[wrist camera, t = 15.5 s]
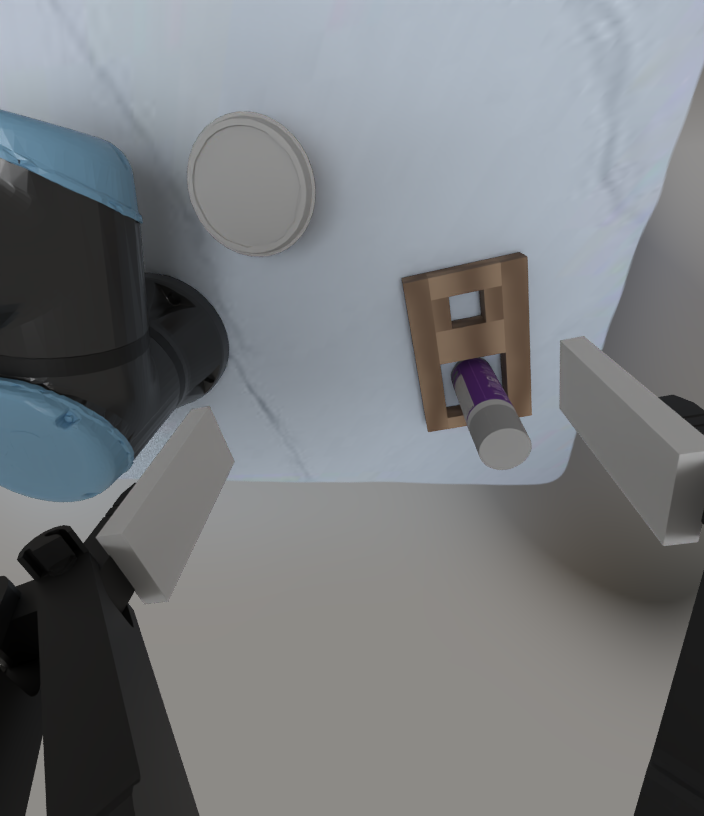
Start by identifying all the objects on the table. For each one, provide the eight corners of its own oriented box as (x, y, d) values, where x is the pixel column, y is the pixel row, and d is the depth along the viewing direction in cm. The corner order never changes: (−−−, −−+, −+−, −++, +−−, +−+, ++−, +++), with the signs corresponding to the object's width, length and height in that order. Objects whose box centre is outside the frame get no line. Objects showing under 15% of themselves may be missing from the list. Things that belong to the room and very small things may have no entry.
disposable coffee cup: (222, 217, 42) (172, 233, 32) (242, 107, 38) (191, 84, 27) (313, 251, 44) (292, 277, 33) (343, 149, 39) (330, 142, 29)
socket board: (426, 421, 53) (428, 432, 51) (401, 278, 45) (403, 283, 42) (525, 404, 51) (531, 415, 49) (519, 252, 43) (527, 256, 41)
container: (495, 357, 48) (539, 429, 36) (486, 393, 51) (525, 473, 38) (454, 354, 49) (483, 425, 36) (447, 391, 51) (472, 469, 38)
